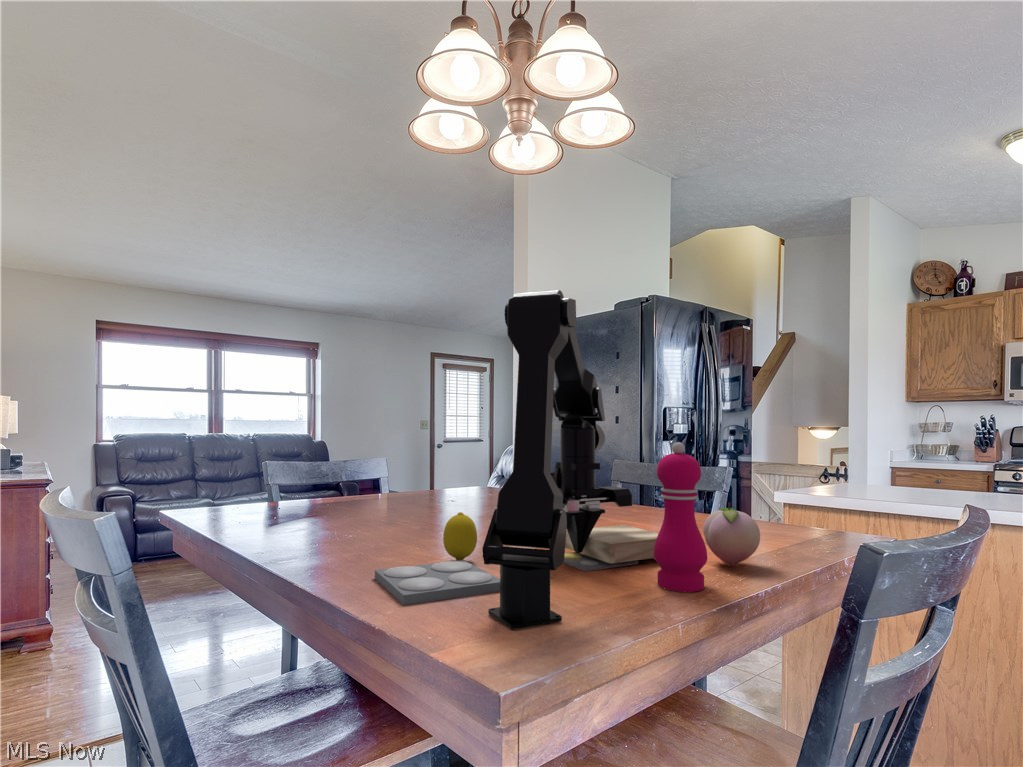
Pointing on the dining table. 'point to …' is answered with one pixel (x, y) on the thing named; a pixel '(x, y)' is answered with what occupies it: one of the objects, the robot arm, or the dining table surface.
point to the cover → (618, 544)
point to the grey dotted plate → (590, 562)
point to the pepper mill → (679, 524)
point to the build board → (436, 581)
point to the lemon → (460, 536)
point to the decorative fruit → (731, 535)
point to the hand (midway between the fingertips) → (578, 552)
